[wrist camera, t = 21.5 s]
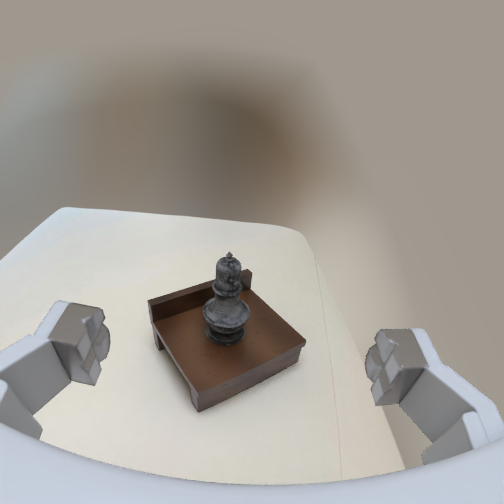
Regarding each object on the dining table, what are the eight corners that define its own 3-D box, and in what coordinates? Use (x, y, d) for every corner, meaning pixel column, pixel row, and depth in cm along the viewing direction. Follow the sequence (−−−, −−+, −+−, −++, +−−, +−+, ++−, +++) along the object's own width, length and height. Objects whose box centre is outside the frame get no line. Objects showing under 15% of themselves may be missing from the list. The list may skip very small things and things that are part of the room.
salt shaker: (201, 346, 37) (200, 265, 31) (204, 314, 42) (204, 237, 36) (248, 348, 38) (258, 268, 31) (247, 316, 43) (255, 240, 36)
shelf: (243, 308, 52) (247, 268, 47) (299, 363, 42) (311, 324, 38) (154, 341, 43) (147, 300, 39) (200, 414, 34) (197, 378, 29)
